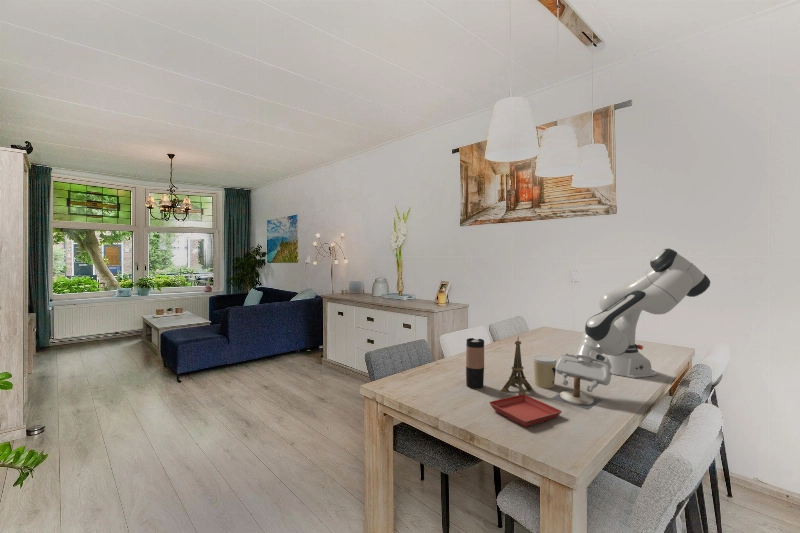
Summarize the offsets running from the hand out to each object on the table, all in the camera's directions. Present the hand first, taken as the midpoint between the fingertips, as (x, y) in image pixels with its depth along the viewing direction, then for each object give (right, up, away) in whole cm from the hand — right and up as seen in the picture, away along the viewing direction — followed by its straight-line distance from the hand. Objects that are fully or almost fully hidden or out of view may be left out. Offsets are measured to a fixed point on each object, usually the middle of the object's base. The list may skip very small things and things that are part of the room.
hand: (576, 387), depth 148 cm
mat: (0, -5, +1) cm, 5 cm away
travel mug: (-37, -4, +16) cm, 40 cm away
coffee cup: (-6, -4, +16) cm, 18 cm away
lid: (0, -5, +1) cm, 5 cm away
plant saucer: (-24, -6, -12) cm, 28 cm away
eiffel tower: (-20, -5, +11) cm, 23 cm away
